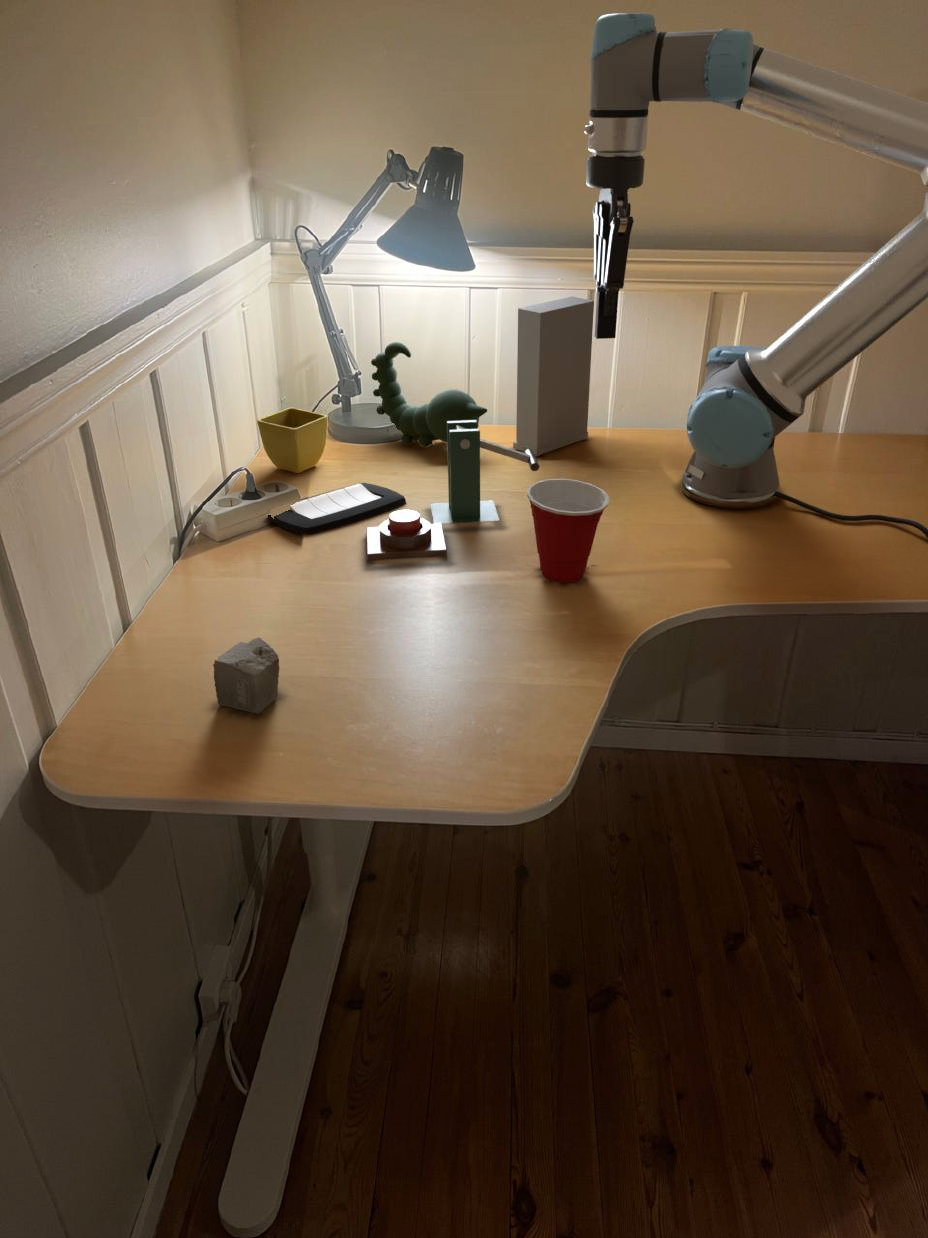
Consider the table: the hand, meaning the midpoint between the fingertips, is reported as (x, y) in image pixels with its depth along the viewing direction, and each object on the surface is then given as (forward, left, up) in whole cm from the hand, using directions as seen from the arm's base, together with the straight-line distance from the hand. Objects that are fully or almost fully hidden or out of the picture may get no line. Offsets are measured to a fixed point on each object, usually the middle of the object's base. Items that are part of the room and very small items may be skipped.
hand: (604, 336), depth 135 cm
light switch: (+28, +29, -27) cm, 48 cm away
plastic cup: (-11, +21, -27) cm, 36 cm away
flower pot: (+49, +21, -27) cm, 60 cm away
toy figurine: (+40, -3, -27) cm, 48 cm away
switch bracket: (+12, +17, -26) cm, 34 cm away
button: (+10, +31, -23) cm, 40 cm away
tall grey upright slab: (+24, -18, -27) cm, 40 cm away
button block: (+10, +31, -26) cm, 42 cm away
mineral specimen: (-6, +68, -27) cm, 73 cm away
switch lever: (+9, +14, -16) cm, 23 cm away
